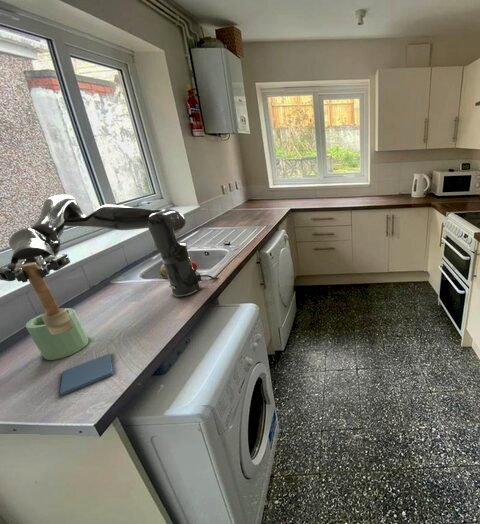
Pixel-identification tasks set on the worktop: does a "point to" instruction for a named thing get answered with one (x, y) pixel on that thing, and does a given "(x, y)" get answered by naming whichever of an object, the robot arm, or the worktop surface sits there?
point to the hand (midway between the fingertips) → (32, 275)
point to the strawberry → (194, 265)
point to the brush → (48, 302)
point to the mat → (86, 374)
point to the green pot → (57, 337)
